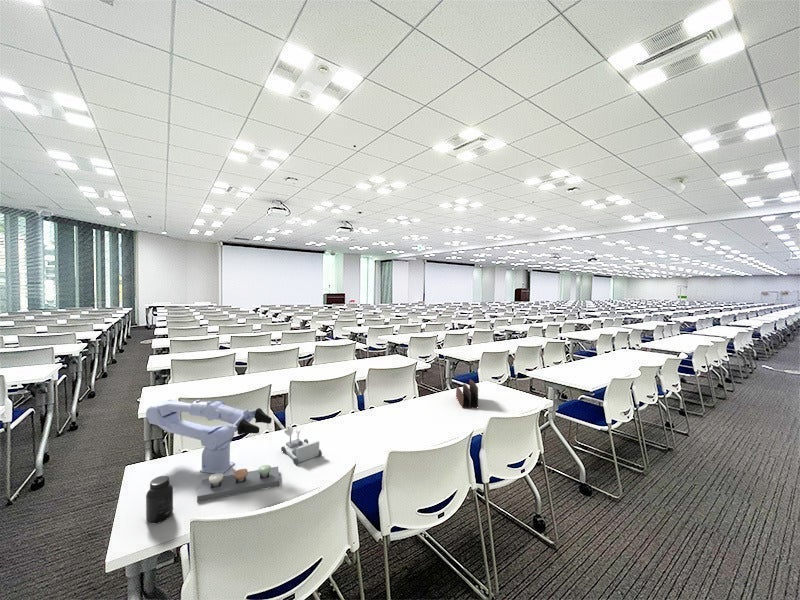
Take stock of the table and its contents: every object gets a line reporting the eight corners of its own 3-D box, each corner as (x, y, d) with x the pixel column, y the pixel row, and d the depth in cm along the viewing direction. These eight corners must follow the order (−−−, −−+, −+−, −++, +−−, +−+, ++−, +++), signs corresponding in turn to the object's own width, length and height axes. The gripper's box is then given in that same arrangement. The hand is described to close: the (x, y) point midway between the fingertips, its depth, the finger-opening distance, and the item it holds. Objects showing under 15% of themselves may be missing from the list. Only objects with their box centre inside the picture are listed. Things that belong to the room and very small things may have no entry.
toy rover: (278, 428, 147) (303, 421, 155) (278, 449, 147) (302, 442, 155) (296, 443, 133) (322, 435, 141) (296, 467, 134) (321, 457, 142)
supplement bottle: (140, 521, 101) (140, 483, 101) (163, 507, 107) (163, 471, 107) (155, 527, 99) (155, 488, 98) (178, 513, 105) (178, 476, 104)
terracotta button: (233, 485, 117) (233, 476, 117) (234, 478, 121) (234, 470, 121) (247, 482, 119) (247, 474, 119) (247, 476, 123) (247, 467, 123)
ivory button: (208, 490, 114) (208, 481, 114) (209, 483, 118) (209, 474, 118) (222, 487, 116) (222, 478, 116) (223, 480, 120) (223, 472, 120)
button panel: (197, 502, 110) (197, 496, 110) (202, 485, 120) (202, 479, 119) (279, 485, 120) (279, 480, 120) (278, 471, 130) (278, 466, 130)
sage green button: (258, 480, 120) (258, 472, 120) (258, 474, 124) (258, 466, 124) (271, 478, 122) (271, 470, 122) (270, 472, 126) (270, 463, 126)
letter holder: (470, 398, 223) (471, 377, 223) (478, 409, 203) (479, 386, 203) (455, 397, 223) (456, 377, 222) (462, 408, 203) (463, 386, 202)
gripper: (221, 415, 121) (253, 425, 118) (247, 399, 135) (277, 407, 132) (219, 432, 122) (251, 442, 119) (246, 415, 136) (275, 423, 133)
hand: (265, 425), depth 126 cm, fingers open, 7 cm apart
